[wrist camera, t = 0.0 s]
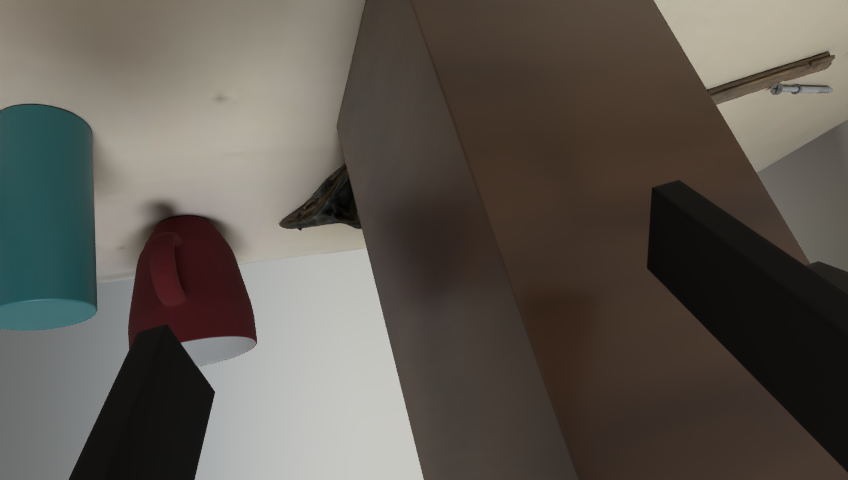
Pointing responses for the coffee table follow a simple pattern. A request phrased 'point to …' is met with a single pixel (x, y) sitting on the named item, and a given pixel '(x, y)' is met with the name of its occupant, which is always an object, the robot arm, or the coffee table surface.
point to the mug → (193, 291)
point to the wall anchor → (798, 89)
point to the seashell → (328, 205)
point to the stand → (552, 244)
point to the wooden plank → (770, 78)
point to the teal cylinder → (46, 219)
